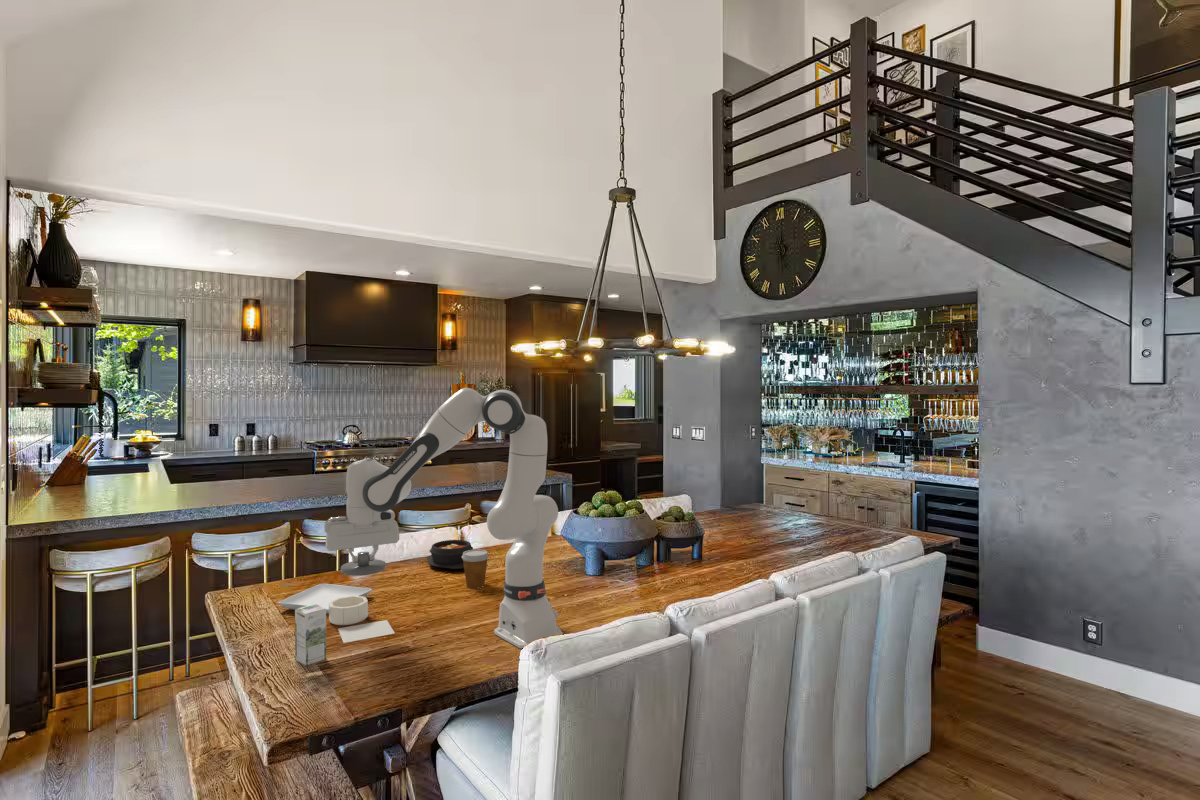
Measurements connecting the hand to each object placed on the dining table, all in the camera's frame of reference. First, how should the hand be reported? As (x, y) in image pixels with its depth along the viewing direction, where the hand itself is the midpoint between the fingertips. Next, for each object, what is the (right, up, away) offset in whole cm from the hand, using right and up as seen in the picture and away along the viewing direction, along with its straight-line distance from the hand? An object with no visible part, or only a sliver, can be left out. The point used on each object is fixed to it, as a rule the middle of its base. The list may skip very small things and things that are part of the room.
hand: (363, 561), depth 193 cm
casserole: (+10, -19, +70) cm, 74 cm away
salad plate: (-21, -21, +26) cm, 40 cm away
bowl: (-8, -21, +10) cm, 25 cm away
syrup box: (-7, -22, -19) cm, 30 cm away
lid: (0, -2, 0) cm, 2 cm away
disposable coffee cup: (+24, -20, +44) cm, 54 cm away
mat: (+1, -21, 0) cm, 21 cm away
